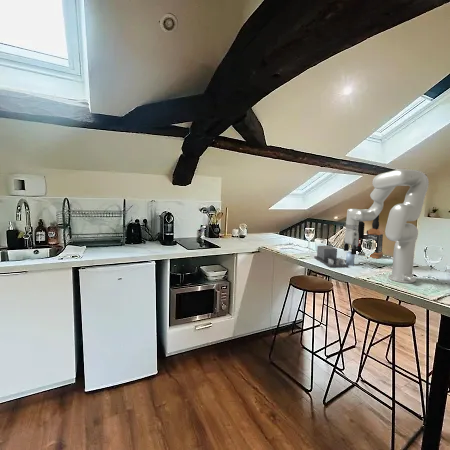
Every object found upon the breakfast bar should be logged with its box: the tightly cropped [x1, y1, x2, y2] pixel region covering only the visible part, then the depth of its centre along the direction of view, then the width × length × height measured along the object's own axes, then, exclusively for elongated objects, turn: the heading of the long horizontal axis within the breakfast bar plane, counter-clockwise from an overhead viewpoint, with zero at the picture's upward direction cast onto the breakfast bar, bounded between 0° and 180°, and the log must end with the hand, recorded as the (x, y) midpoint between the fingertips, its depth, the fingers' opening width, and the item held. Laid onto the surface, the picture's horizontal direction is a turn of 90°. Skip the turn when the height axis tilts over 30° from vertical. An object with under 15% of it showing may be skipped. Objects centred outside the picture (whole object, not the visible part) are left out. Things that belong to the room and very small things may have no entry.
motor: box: [314, 245, 349, 269], centre depth 191 cm, size 29×12×10 cm, turn 4°
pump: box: [345, 250, 356, 267], centre depth 184 cm, size 5×5×9 cm
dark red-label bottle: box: [353, 221, 366, 254], centre depth 216 cm, size 14×9×30 cm
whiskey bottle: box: [366, 214, 385, 260], centre depth 207 cm, size 10×10×32 cm
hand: (349, 252), depth 185 cm, fingers open, 9 cm apart
